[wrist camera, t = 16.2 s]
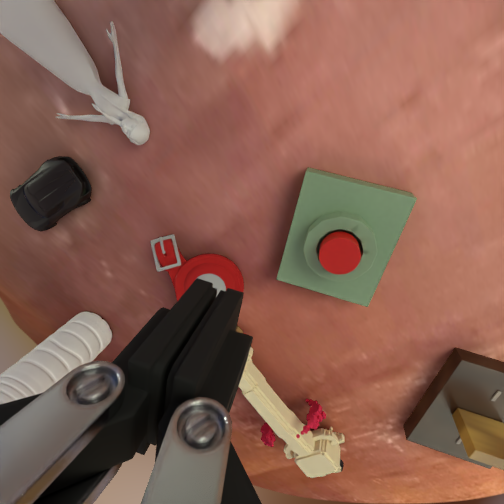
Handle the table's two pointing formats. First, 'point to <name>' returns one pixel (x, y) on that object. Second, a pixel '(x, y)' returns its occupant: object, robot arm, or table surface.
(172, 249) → the tracker holder
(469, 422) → the lock knob
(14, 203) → the toy car
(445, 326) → the table surface
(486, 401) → the lock plate
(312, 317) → the table surface
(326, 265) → the button
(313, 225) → the green button base
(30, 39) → the woman figurine
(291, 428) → the blocky toy figure
